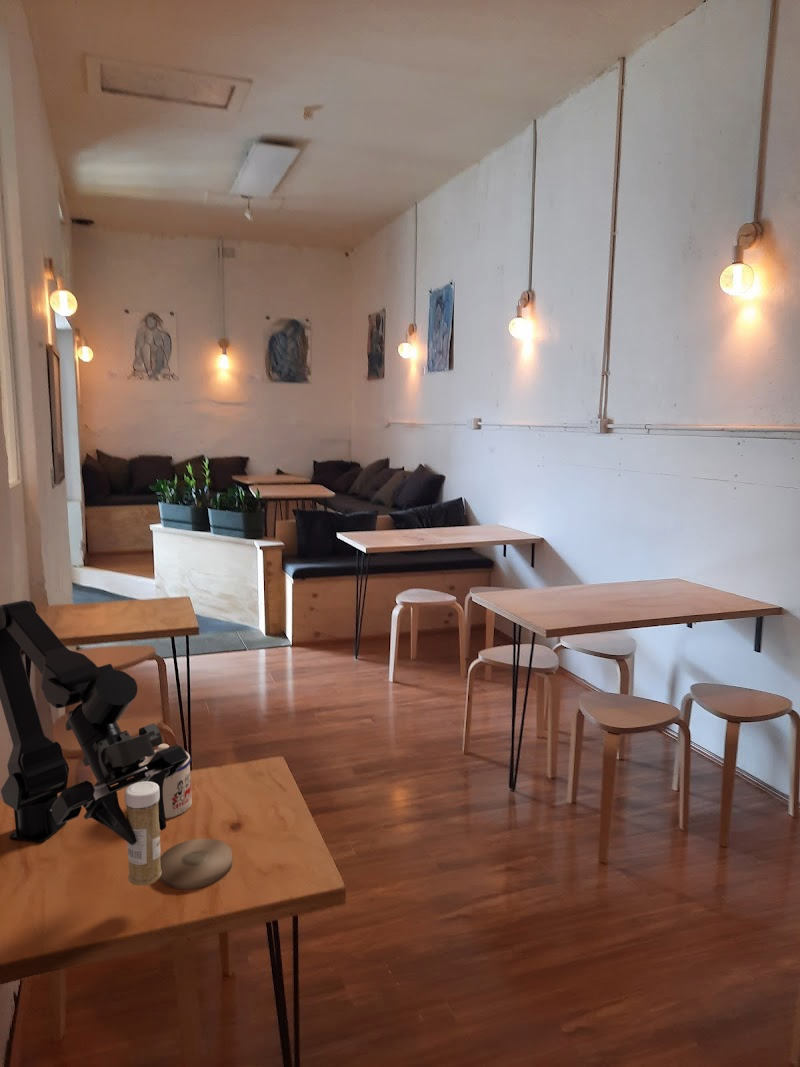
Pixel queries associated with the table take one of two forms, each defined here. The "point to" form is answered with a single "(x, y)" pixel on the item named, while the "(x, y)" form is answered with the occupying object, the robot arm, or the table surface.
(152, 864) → the sprinkles bottle
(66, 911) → the table surface
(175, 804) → the cream ceramic jar
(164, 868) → the grey-brown round disc
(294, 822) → the table surface
